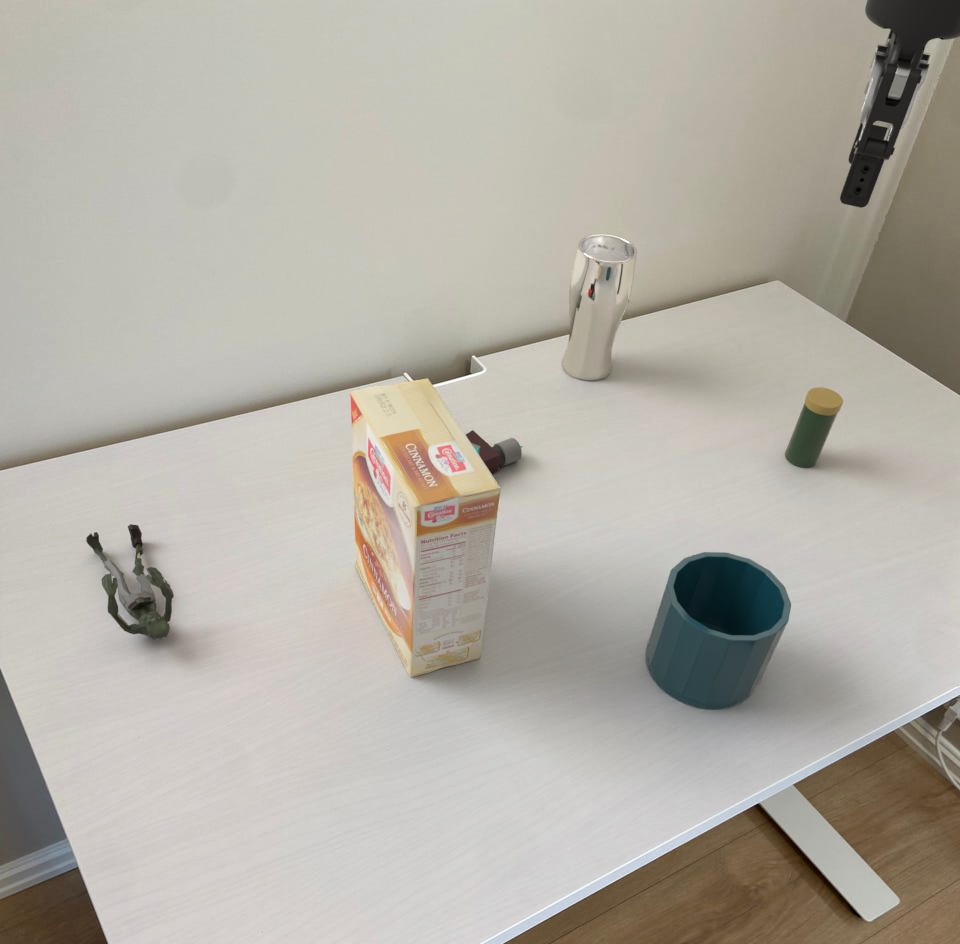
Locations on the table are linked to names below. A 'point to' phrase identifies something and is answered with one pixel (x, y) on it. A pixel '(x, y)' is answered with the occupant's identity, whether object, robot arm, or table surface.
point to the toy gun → (496, 451)
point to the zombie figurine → (137, 603)
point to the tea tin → (813, 426)
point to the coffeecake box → (422, 523)
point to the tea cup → (716, 629)
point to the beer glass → (597, 303)
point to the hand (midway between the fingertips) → (856, 183)
